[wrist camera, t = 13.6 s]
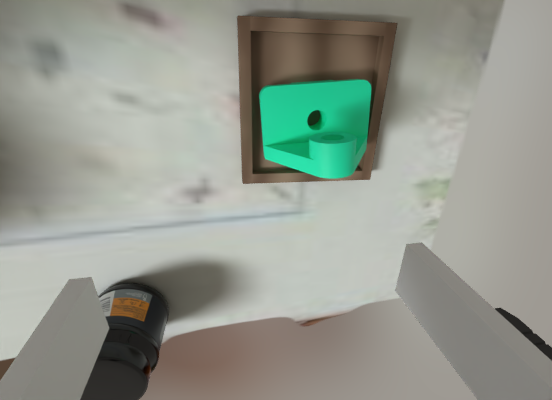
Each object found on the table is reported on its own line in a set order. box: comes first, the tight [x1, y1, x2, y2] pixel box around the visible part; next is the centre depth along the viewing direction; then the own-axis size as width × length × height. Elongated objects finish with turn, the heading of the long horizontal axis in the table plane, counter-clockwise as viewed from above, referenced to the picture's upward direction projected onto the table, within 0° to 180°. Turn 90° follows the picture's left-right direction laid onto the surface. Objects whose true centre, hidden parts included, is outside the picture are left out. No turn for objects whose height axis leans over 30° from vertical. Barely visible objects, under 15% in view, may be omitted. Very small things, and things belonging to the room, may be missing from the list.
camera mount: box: [259, 79, 371, 179], centre depth 30 cm, size 12×8×10 cm, turn 93°
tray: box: [237, 16, 397, 184], centre depth 34 cm, size 16×17×2 cm
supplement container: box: [80, 283, 169, 400], centre depth 38 cm, size 10×10×12 cm
